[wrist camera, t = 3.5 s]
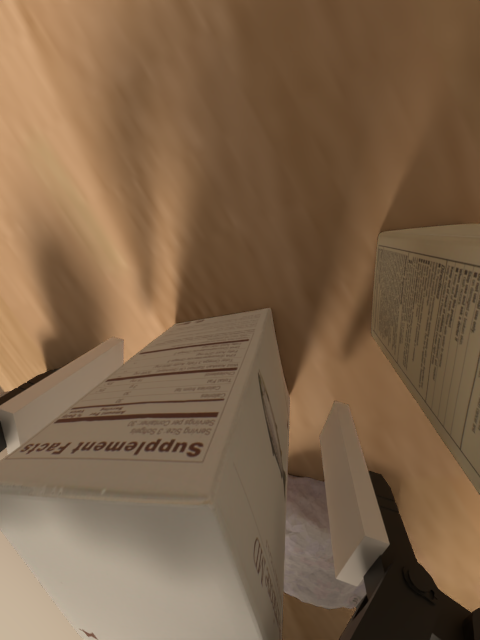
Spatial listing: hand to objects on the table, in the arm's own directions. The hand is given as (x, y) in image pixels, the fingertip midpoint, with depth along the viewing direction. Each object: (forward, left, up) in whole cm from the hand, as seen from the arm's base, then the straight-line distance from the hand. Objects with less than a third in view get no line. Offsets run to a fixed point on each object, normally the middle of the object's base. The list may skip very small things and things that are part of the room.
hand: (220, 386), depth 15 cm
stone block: (-14, -11, -4) cm, 19 cm away
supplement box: (0, 0, -4) cm, 4 cm away
